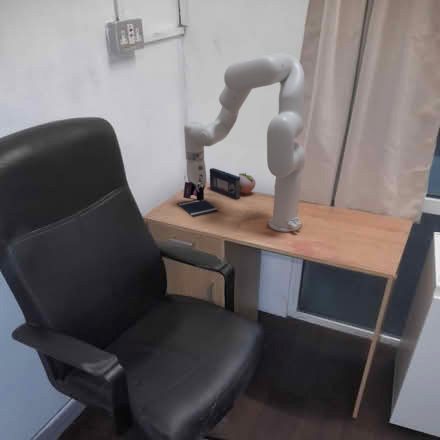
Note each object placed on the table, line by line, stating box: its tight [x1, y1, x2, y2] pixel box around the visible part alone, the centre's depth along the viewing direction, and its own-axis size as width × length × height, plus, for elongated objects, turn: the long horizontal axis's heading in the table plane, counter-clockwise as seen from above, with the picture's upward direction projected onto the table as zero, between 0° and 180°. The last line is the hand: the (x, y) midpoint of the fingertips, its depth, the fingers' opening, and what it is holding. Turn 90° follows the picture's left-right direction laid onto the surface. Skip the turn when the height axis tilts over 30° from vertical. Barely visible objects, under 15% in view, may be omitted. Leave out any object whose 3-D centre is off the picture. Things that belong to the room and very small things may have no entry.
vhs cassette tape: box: [209, 167, 241, 200], centre depth 192 cm, size 18×3×10 cm, turn 40°
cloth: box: [177, 199, 219, 218], centre depth 181 cm, size 16×12×1 cm
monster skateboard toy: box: [182, 181, 202, 201], centre depth 179 cm, size 7×5×9 cm
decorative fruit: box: [238, 172, 256, 195], centre depth 191 cm, size 9×8×10 cm
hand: (196, 197), depth 179 cm, fingers closed on monster skateboard toy, 6 cm apart
